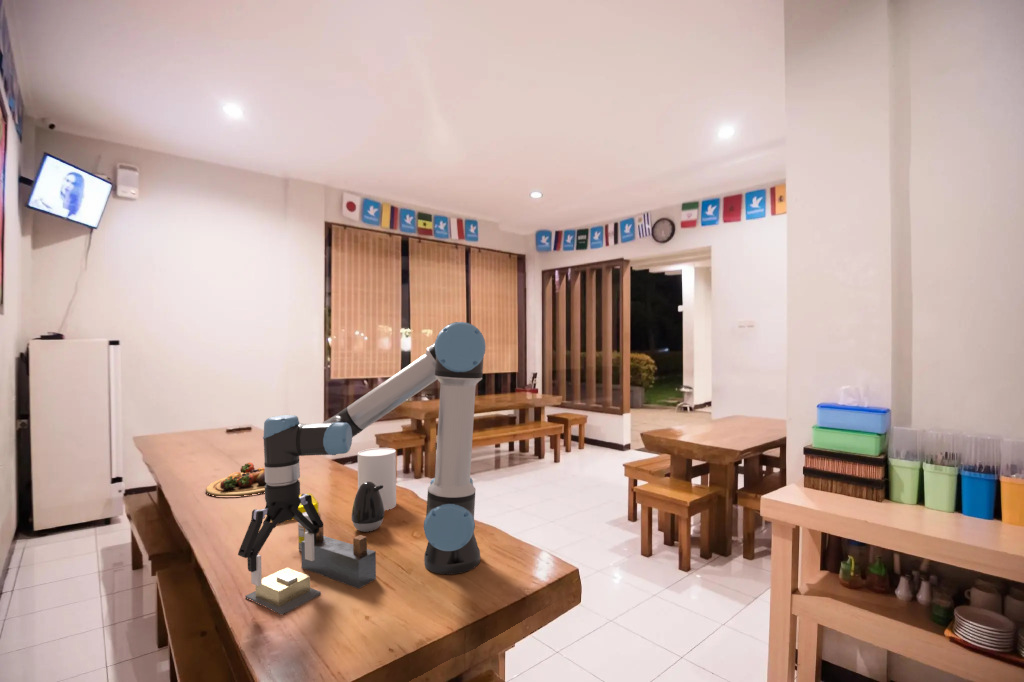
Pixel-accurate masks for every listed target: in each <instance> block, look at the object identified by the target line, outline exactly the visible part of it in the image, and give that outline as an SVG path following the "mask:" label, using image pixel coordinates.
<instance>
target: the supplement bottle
mask: <svg viewBox="0 0 1024 682" xmlns="http://www.w3.org/2000/svg"><path fill="white" fill-rule="evenodd" d="M302 514H303V515H304V516H305V517H306V518H307V519H308V520H309V521H310V522H311V520H310V518H309V516H308V514H307V513H306V512H305V513H302ZM297 523H298V525H297V526H298V527H297V528H298V530H297V532H298V533H297V534H298V535H297V536H298V550H299V551H300V552H302V546H301V542H302V541H304V540H305V538H304V533H305V532H308V531H307V530H306V529H305V528H304V527H303V526H302V525H301V524H300V523H299V522H297ZM311 523H312V522H311ZM312 524H313V523H312Z"/></svg>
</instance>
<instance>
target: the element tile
mask: <svg viewBox="0 0 1024 682" xmlns="http://www.w3.org/2000/svg"><path fill="white" fill-rule="evenodd" d="M302 494H303V493H302ZM302 494H301V493H300V495H299V497H301V495H302ZM306 494H308V495H311V498H312V503H313V505H314V507H315V509H316V511H317V513H318V514H319V513H320V512H319V502H318V500H317V499H316V497H315V496H314V494H312V493H311V492H310V493H306ZM298 510H299V511H300V512H301V513H305V512H306V511H305V509H304V507H303V505H302V504H301V503H300V505H299V507H298ZM292 519H294V518H292ZM292 519H291V520H290V521H293V520H292ZM294 520H295V519H294ZM271 521H272V520H271ZM271 521H270V522H271ZM285 522H287V520H286V521H285Z"/></svg>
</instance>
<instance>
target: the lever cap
mask: <svg viewBox="0 0 1024 682" xmlns="http://www.w3.org/2000/svg"><path fill="white" fill-rule="evenodd" d="M310 588H311V576H310V575H309V574H306V573H303V572H300V571H297V570H295V569H292V568H290V567H284V568H283V569H280V570H278V571H276V572H273V573H271V574H269V575H267V576H265V577H262V585H260V586H257V585H255V591H256V597H258V598H260V599H262V600H265V601H267V602H269V603H271V604H273V605H276V606H278V607H280V606H282V605H284V604H286V603H288V602H290V601H291V600H293V599H295V598H297V597H299V596H301V595H303V594H305V593H307V592H309V591H310Z"/></svg>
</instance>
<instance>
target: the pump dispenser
mask: <svg viewBox="0 0 1024 682" xmlns="http://www.w3.org/2000/svg"><path fill="white" fill-rule="evenodd" d="M382 488H383V485H380V486H376V485H375V484H374V483H373V482H365V483H363V484H362V485H361V486H360V487H359V489H358V488H357V491H356V493H355V497H354V501H353V504H352V508H351V521H352V524H353V526H354V528H355V529H356V530H357V531H359V532H363V533H370V532H373V530H374V531H375V530H378V529H379V528H380V527H381V526H382V524H383V521H384V518H385V511H384V506H383V501H382V498H381V495H380V492H379V490H380V489H382ZM369 531H370V532H369Z"/></svg>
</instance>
